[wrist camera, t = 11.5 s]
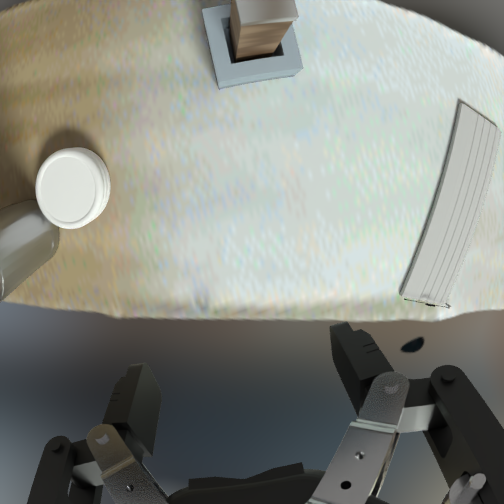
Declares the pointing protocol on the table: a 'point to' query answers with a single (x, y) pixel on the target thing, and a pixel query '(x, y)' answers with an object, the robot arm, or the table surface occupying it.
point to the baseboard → (454, 209)
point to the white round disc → (72, 187)
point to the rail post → (259, 27)
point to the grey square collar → (234, 74)
